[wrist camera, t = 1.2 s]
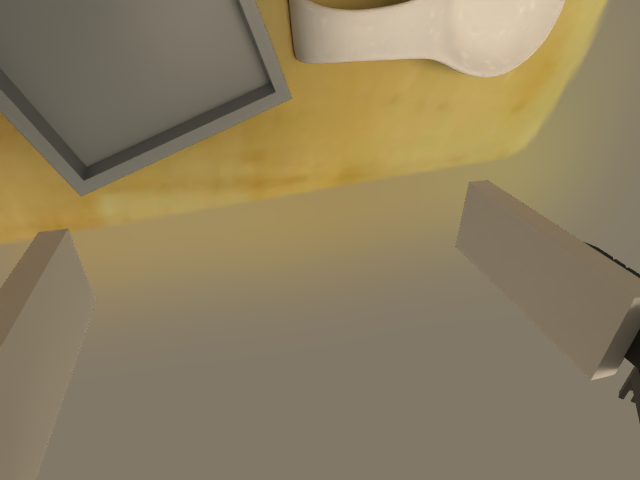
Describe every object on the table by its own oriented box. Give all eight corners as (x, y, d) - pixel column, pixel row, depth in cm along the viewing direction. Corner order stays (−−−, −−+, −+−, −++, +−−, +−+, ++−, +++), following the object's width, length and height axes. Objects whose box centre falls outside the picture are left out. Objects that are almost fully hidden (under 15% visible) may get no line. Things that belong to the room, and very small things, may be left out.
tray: (-159, -95, 20) (-195, -95, 18) (161, -230, 21) (163, -246, 19) (85, 177, 33) (80, 196, 31) (282, 86, 33) (292, 98, 31)
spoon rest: (561, -103, 32) (643, -107, 27) (525, 52, 40) (583, 73, 34) (277, -62, 27) (308, -56, 22) (299, 103, 35) (326, 137, 30)
